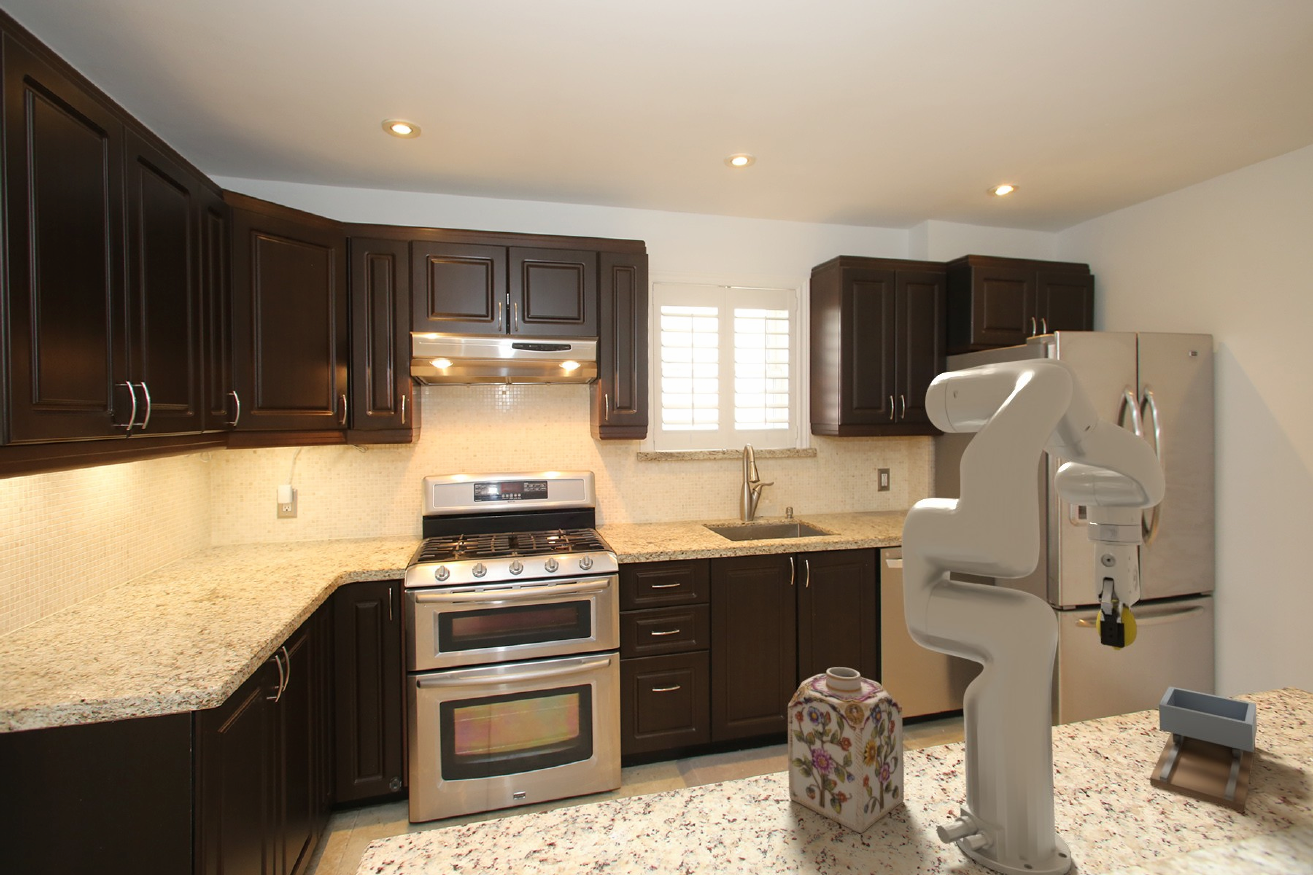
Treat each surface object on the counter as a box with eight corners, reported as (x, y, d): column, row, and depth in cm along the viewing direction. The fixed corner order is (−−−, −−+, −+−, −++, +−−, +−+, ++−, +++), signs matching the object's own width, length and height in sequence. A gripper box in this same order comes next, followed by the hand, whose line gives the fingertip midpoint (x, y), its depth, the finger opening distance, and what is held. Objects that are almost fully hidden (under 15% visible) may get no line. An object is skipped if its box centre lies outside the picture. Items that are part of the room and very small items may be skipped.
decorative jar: (786, 799, 89) (783, 671, 90) (833, 771, 97) (830, 652, 97) (863, 837, 80) (860, 694, 81) (908, 802, 88) (904, 672, 88)
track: (1244, 811, 84) (1243, 781, 84) (1150, 784, 91) (1149, 756, 92) (1255, 746, 102) (1254, 721, 103) (1175, 727, 110) (1175, 704, 110)
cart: (1253, 765, 93) (1251, 724, 93) (1160, 742, 100) (1158, 704, 101) (1257, 741, 100) (1255, 703, 100) (1170, 721, 108) (1169, 686, 108)
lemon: (1124, 645, 109) (1122, 599, 109) (1145, 655, 103) (1144, 606, 104) (1090, 645, 109) (1088, 598, 110) (1109, 654, 104) (1108, 605, 104)
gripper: (1131, 540, 98) (1134, 658, 98) (1150, 531, 110) (1153, 636, 110) (1074, 536, 104) (1077, 648, 103) (1098, 528, 116) (1101, 628, 115)
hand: (1116, 640), depth 106 cm, fingers closed on lemon, 5 cm apart
